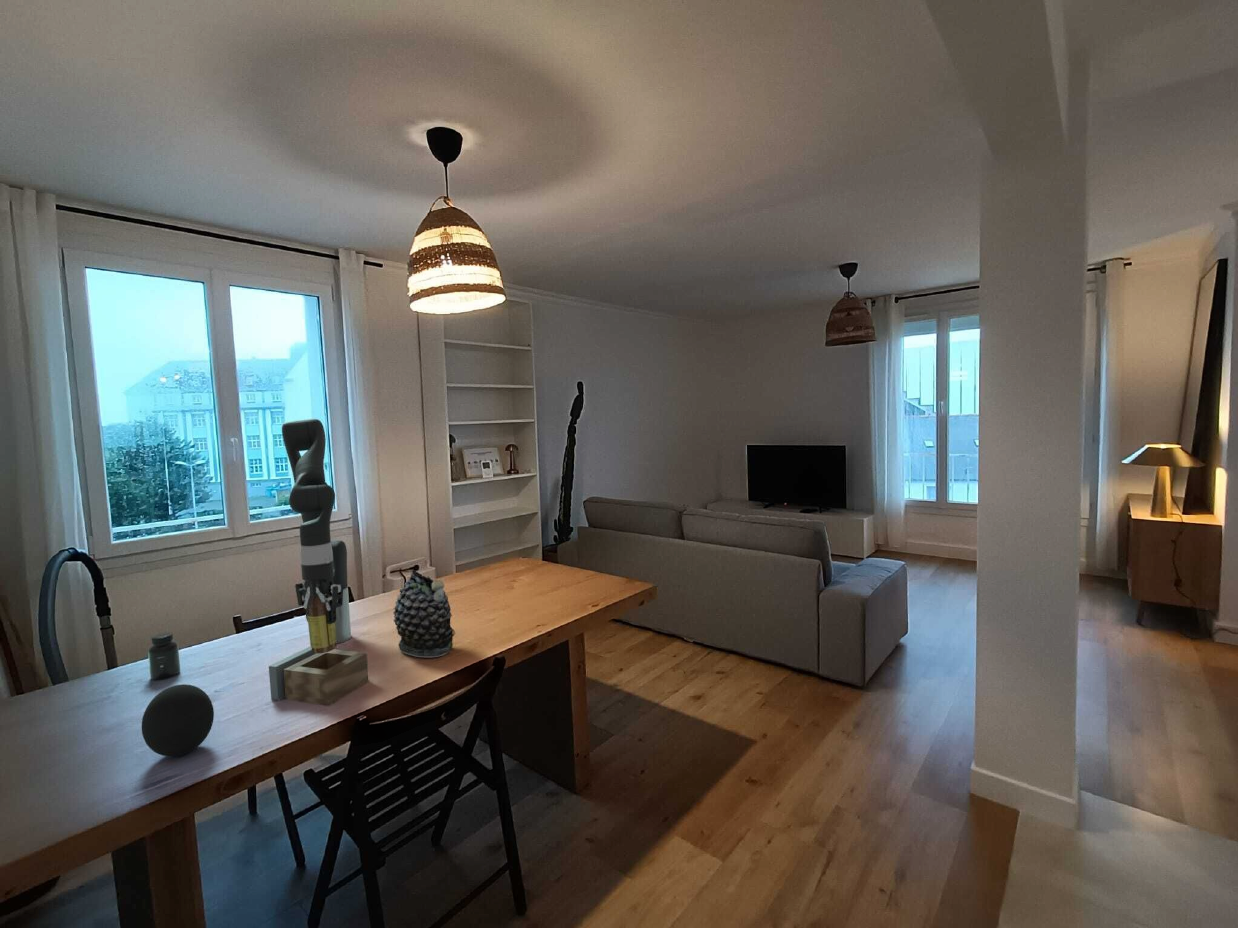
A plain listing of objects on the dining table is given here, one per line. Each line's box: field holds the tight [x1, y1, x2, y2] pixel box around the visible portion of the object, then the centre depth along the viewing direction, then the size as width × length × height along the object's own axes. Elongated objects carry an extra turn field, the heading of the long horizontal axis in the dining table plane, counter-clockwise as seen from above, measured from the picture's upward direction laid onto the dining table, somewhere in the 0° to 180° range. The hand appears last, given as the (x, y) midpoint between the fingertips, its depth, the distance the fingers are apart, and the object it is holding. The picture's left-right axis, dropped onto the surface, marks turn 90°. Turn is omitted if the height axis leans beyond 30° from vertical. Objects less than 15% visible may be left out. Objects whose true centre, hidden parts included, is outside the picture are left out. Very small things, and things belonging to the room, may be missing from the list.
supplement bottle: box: [147, 632, 181, 681], centre depth 164 cm, size 7×7×12 cm
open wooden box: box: [284, 648, 369, 706], centre depth 151 cm, size 14×14×8 cm
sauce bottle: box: [307, 581, 338, 653], centre depth 150 cm, size 6×6×20 cm
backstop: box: [268, 645, 316, 701], centre depth 154 cm, size 2×16×9 cm, turn 162°
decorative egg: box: [141, 683, 215, 758], centre depth 123 cm, size 12×12×15 cm
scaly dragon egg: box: [393, 570, 456, 659], centre depth 175 cm, size 21×15×25 cm
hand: (321, 621), depth 150 cm, fingers closed on sauce bottle, 6 cm apart
